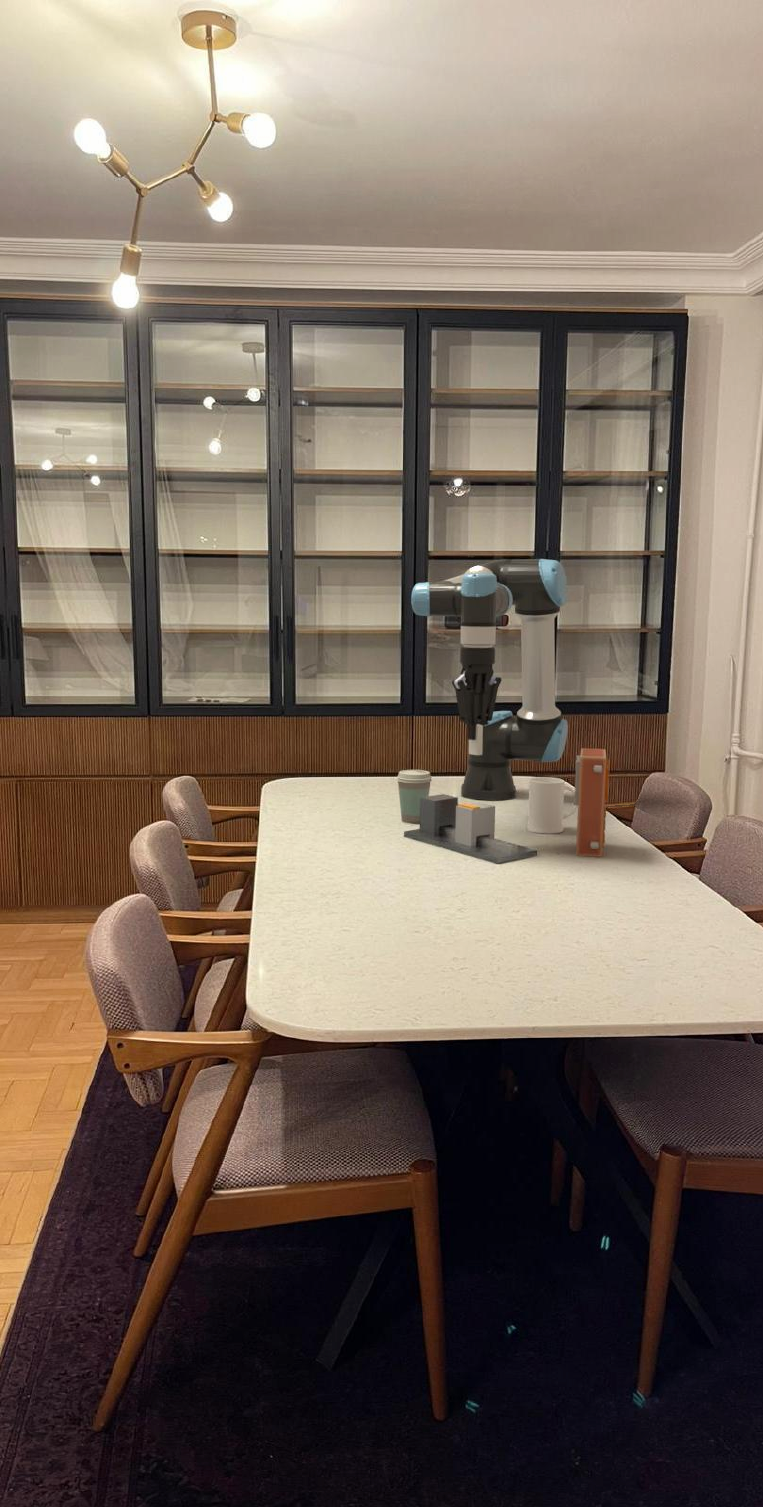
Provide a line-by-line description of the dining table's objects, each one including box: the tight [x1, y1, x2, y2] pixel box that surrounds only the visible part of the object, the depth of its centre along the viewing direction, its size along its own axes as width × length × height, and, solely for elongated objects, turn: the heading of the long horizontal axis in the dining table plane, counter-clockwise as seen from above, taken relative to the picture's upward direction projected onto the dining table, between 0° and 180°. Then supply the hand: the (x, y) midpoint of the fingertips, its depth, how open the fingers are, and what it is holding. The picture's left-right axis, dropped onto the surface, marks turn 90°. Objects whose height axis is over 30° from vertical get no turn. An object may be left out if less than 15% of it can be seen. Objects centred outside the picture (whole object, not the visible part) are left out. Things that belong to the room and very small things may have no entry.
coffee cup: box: [396, 769, 433, 824], centre depth 253 cm, size 8×9×12 cm
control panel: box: [573, 747, 610, 858], centre depth 225 cm, size 21×7×15 cm
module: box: [455, 802, 496, 846], centre depth 227 cm, size 5×7×8 cm
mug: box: [526, 776, 578, 835], centre depth 245 cm, size 12×8×12 cm
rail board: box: [403, 793, 538, 865], centre depth 228 cm, size 30×12×9 cm, turn 38°
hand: (475, 754), depth 228 cm, fingers closed
